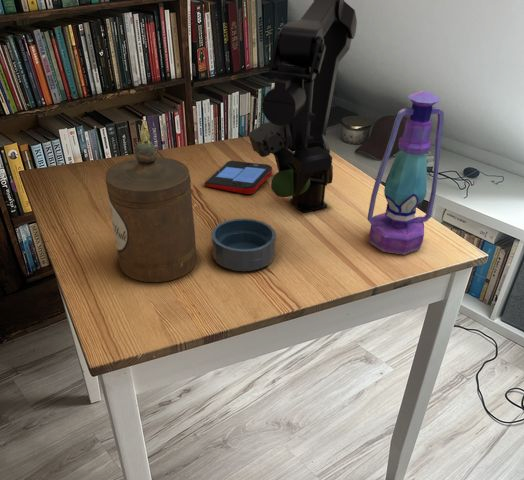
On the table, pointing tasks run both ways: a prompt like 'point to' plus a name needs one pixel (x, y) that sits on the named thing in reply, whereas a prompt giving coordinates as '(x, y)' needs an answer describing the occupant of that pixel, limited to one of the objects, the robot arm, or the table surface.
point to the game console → (240, 177)
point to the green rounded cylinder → (285, 184)
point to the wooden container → (152, 217)
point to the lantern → (407, 179)
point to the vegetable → (144, 140)
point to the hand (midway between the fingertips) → (290, 188)
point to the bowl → (243, 244)
